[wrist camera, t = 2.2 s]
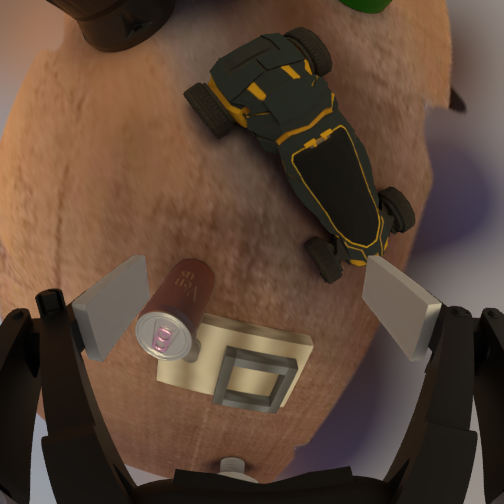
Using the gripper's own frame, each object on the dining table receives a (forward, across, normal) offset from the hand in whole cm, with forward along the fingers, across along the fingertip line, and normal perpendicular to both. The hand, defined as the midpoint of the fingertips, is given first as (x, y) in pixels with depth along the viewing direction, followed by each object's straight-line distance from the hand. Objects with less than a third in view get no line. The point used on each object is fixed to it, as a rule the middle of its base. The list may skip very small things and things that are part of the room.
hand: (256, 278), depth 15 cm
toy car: (+21, +7, +8) cm, 24 cm away
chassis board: (+21, -4, -22) cm, 31 cm away
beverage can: (+21, -8, -8) cm, 24 cm away
